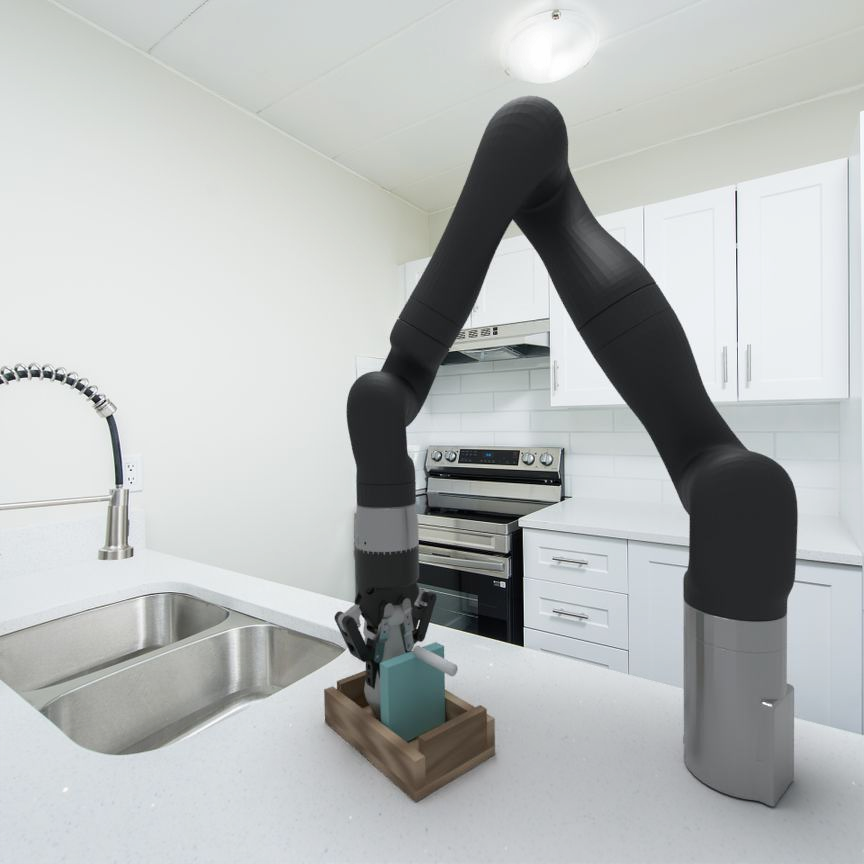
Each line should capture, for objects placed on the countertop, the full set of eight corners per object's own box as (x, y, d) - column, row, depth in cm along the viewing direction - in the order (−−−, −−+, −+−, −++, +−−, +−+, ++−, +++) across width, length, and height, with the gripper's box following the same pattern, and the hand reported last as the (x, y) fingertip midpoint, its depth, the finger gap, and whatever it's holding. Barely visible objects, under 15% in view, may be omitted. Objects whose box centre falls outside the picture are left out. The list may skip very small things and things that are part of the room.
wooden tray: (495, 754, 58) (494, 704, 58) (416, 802, 51) (415, 746, 51) (397, 690, 72) (396, 650, 72) (324, 721, 65) (323, 677, 65)
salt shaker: (406, 726, 60) (404, 613, 60) (358, 721, 61) (356, 610, 61) (417, 699, 66) (416, 595, 66) (373, 695, 67) (371, 593, 67)
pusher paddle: (481, 746, 57) (480, 652, 57) (424, 779, 52) (422, 677, 52) (437, 716, 63) (435, 631, 63) (381, 744, 58) (379, 652, 58)
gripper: (352, 558, 56) (355, 720, 56) (452, 537, 65) (453, 677, 65) (318, 545, 61) (321, 692, 62) (414, 528, 70) (416, 656, 71)
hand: (389, 683), depth 64 cm, fingers closed on salt shaker, 3 cm apart
